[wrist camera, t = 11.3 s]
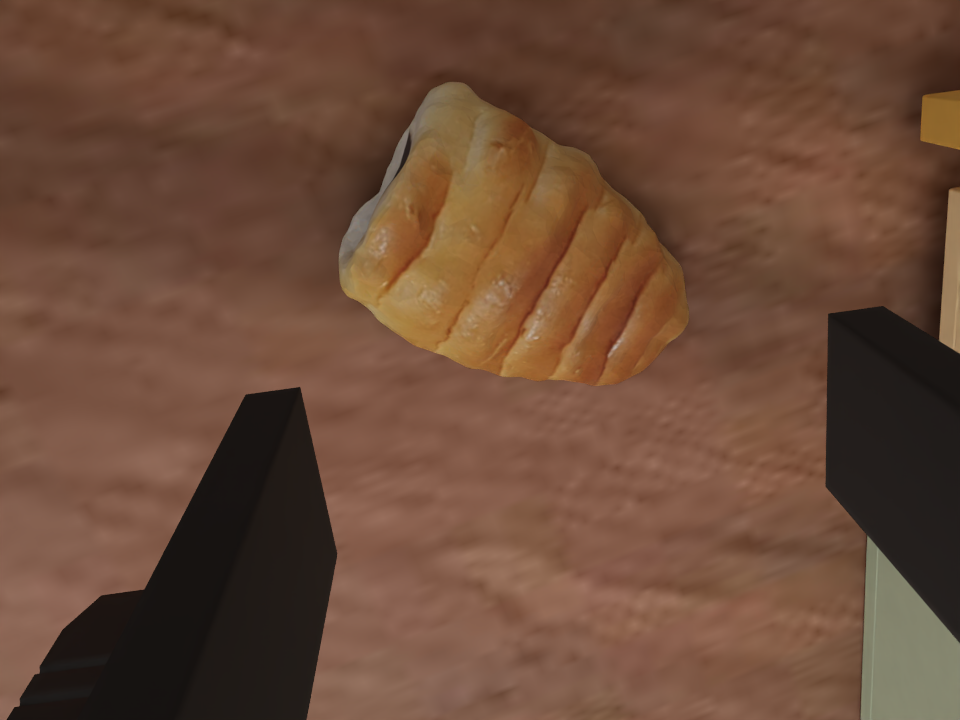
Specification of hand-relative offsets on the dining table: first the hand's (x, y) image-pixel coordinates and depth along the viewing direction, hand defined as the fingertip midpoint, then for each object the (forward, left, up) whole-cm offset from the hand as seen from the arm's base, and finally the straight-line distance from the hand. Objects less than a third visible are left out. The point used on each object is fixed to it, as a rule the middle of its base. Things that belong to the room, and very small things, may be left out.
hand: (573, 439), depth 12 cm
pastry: (0, 0, -13) cm, 13 cm away
